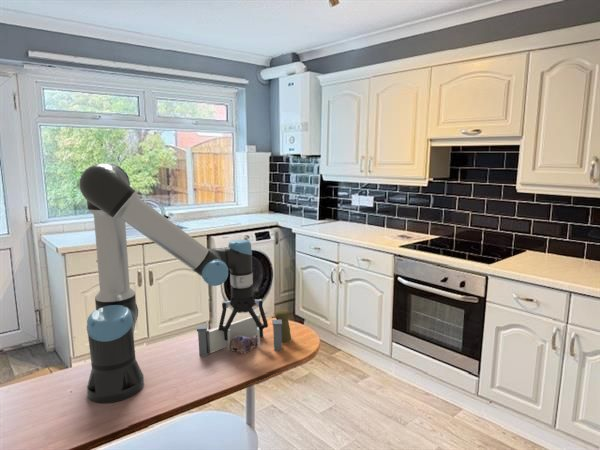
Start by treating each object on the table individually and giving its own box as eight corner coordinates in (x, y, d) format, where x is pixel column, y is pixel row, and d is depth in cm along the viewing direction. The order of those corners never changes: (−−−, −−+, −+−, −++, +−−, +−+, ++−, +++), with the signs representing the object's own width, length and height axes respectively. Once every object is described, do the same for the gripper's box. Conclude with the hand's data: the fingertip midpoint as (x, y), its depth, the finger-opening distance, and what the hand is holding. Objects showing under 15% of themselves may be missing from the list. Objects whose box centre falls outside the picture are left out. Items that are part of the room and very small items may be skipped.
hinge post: (198, 356, 141) (196, 329, 140) (199, 351, 145) (197, 324, 143) (208, 355, 142) (206, 328, 140) (208, 351, 145) (207, 324, 144)
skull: (251, 341, 152) (251, 325, 151) (266, 347, 147) (265, 331, 146) (225, 353, 144) (224, 336, 143) (239, 360, 139) (238, 342, 138)
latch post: (273, 351, 144) (272, 324, 143) (272, 346, 148) (272, 320, 146) (282, 350, 145) (282, 323, 143) (282, 345, 148) (281, 319, 147)
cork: (273, 336, 156) (273, 308, 154) (289, 335, 157) (289, 307, 155) (275, 343, 150) (275, 314, 148) (292, 342, 151) (291, 313, 149)
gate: (210, 355, 142) (209, 333, 141) (206, 352, 144) (205, 331, 142) (262, 335, 157) (261, 315, 156) (258, 333, 159) (257, 313, 157)
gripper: (207, 290, 138) (211, 354, 141) (275, 286, 140) (276, 350, 144) (209, 283, 145) (212, 345, 148) (273, 280, 148) (275, 340, 151)
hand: (244, 347), depth 146 cm, fingers closed on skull, 9 cm apart
